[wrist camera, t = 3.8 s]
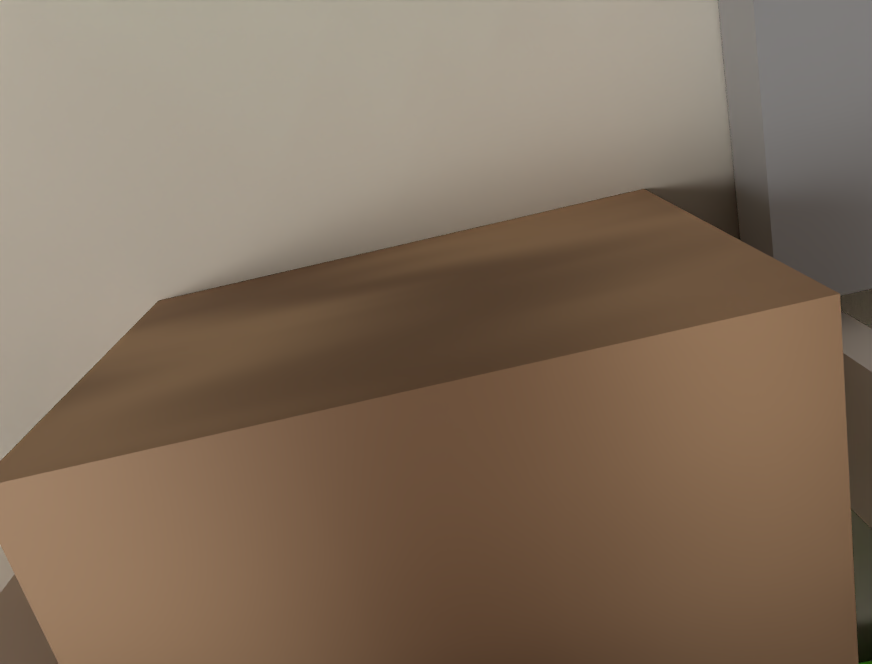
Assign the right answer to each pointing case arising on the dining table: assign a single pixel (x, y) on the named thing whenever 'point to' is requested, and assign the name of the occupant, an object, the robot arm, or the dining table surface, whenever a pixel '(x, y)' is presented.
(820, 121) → the plate
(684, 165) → the dining table surface
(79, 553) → the walnut block
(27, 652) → the robot arm
